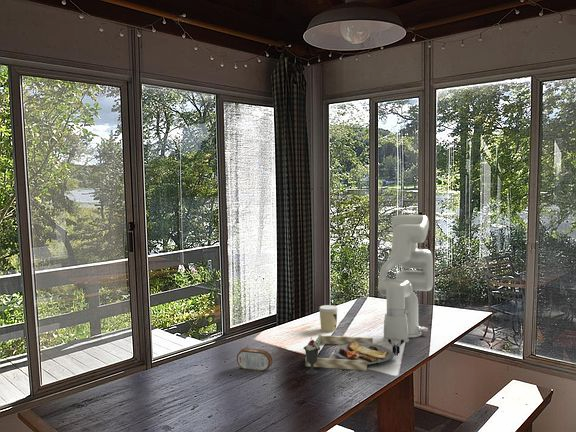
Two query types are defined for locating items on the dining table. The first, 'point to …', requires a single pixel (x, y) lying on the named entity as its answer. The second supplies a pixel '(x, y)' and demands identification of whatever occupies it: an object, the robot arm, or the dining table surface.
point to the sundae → (312, 356)
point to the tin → (254, 359)
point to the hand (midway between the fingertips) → (396, 354)
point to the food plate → (364, 352)
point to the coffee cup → (328, 318)
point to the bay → (340, 362)
